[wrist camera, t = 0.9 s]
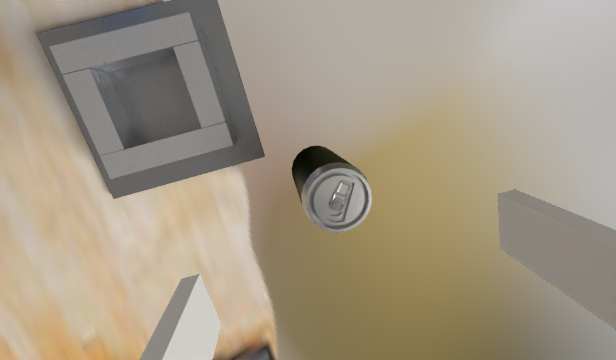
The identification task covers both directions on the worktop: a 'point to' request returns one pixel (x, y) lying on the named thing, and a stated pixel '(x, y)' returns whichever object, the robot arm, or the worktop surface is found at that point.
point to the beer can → (331, 189)
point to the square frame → (155, 93)
